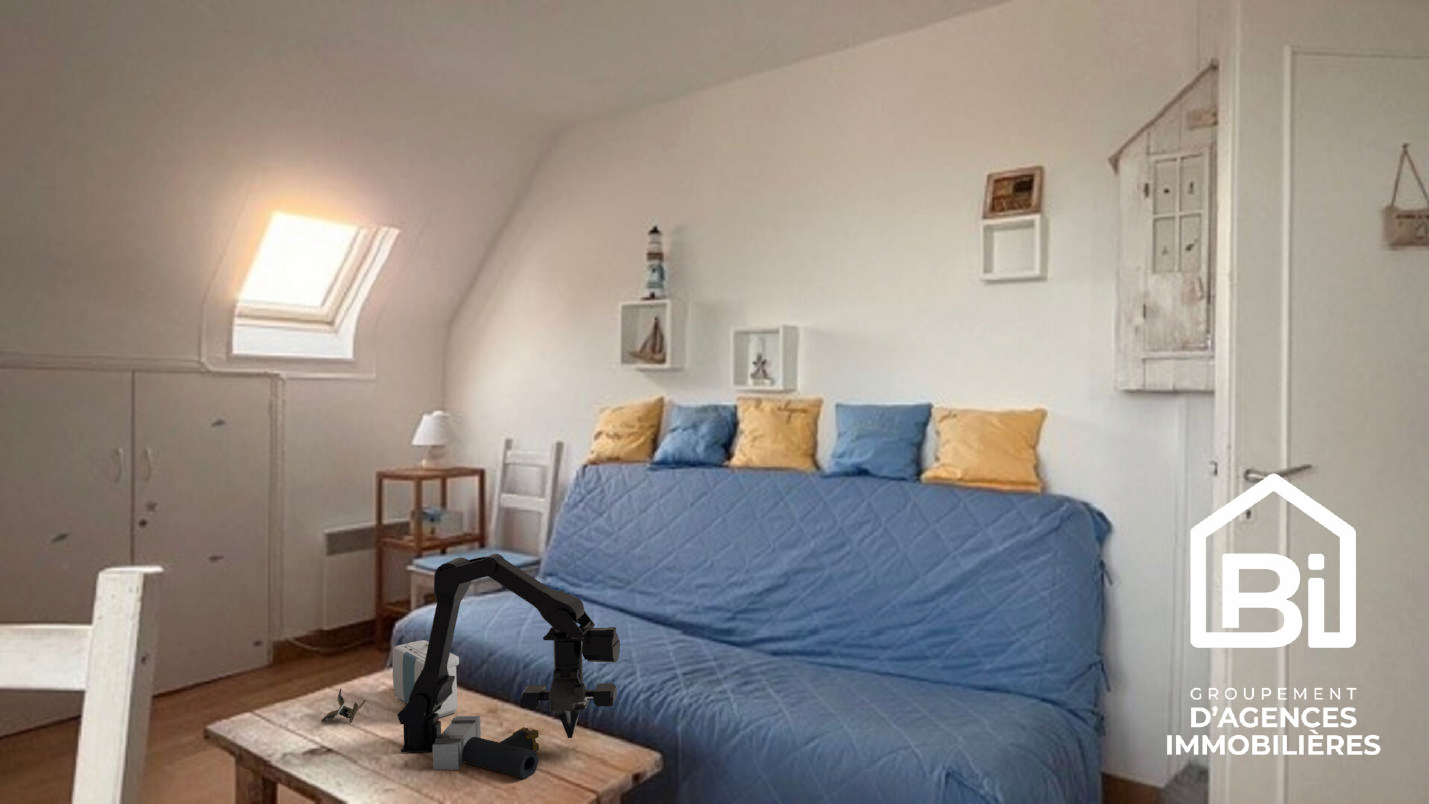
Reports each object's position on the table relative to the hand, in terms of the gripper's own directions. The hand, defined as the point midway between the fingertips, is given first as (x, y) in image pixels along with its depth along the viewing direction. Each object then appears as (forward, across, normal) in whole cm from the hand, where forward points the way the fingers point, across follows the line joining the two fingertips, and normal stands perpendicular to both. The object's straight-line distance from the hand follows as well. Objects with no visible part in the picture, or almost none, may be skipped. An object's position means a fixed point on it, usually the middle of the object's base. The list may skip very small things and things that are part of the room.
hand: (570, 737), depth 163 cm
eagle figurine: (+3, -56, +19) cm, 59 cm away
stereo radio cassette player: (+3, -39, +26) cm, 47 cm away
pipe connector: (+4, -11, -4) cm, 12 cm away
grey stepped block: (+3, -23, 0) cm, 23 cm away
